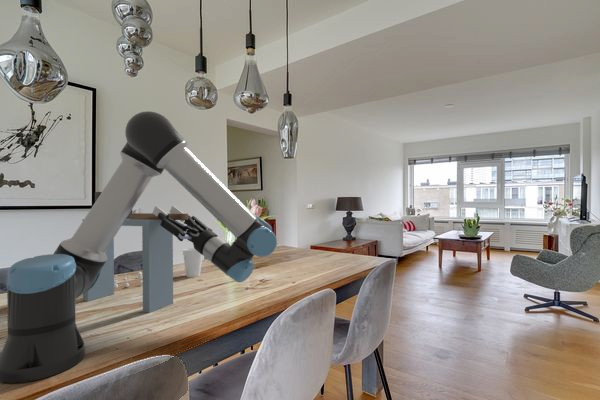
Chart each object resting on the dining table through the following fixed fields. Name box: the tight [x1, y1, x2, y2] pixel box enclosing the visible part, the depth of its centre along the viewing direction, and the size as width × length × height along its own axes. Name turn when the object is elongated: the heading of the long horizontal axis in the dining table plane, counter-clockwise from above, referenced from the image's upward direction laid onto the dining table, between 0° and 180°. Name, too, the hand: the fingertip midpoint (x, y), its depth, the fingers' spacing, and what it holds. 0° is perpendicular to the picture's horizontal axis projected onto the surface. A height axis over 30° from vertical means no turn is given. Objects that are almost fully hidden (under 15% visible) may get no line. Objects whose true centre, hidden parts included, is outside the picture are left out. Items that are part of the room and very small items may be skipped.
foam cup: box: [182, 247, 203, 278], centre depth 154 cm, size 10×9×13 cm
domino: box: [94, 191, 102, 203], centre depth 119 cm, size 5×2×10 cm, turn 156°
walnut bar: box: [130, 212, 189, 221], centre depth 108 cm, size 3×24×2 cm, turn 66°
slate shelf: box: [82, 218, 174, 313], centre depth 114 cm, size 10×34×30 cm, turn 66°
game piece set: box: [114, 271, 143, 289], centre depth 142 cm, size 19×20×4 cm
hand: (163, 209), depth 107 cm, fingers open, 6 cm apart
